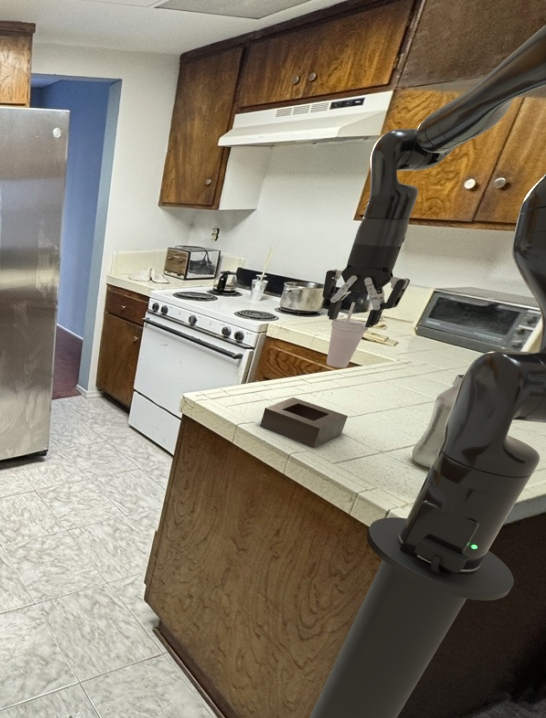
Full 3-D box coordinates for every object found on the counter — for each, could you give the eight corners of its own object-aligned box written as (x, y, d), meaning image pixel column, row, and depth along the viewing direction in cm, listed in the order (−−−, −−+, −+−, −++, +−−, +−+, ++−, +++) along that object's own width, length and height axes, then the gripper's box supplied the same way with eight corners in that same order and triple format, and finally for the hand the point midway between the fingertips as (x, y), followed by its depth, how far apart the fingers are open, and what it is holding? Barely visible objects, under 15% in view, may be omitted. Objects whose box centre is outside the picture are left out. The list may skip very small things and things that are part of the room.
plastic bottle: (445, 461, 100) (486, 375, 92) (453, 477, 95) (498, 387, 86) (405, 453, 103) (442, 369, 95) (411, 468, 98) (451, 380, 90)
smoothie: (322, 357, 108) (341, 298, 103) (357, 364, 104) (378, 302, 99) (316, 365, 104) (335, 303, 99) (351, 372, 100) (374, 308, 95)
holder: (313, 447, 106) (320, 428, 104) (259, 425, 116) (264, 407, 114) (341, 434, 111) (348, 415, 109) (287, 414, 121) (293, 397, 119)
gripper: (327, 240, 98) (304, 318, 105) (414, 247, 86) (382, 334, 93) (346, 237, 101) (323, 313, 108) (432, 244, 89) (399, 328, 96)
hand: (350, 322), depth 100 cm, fingers closed on smoothie, 6 cm apart
